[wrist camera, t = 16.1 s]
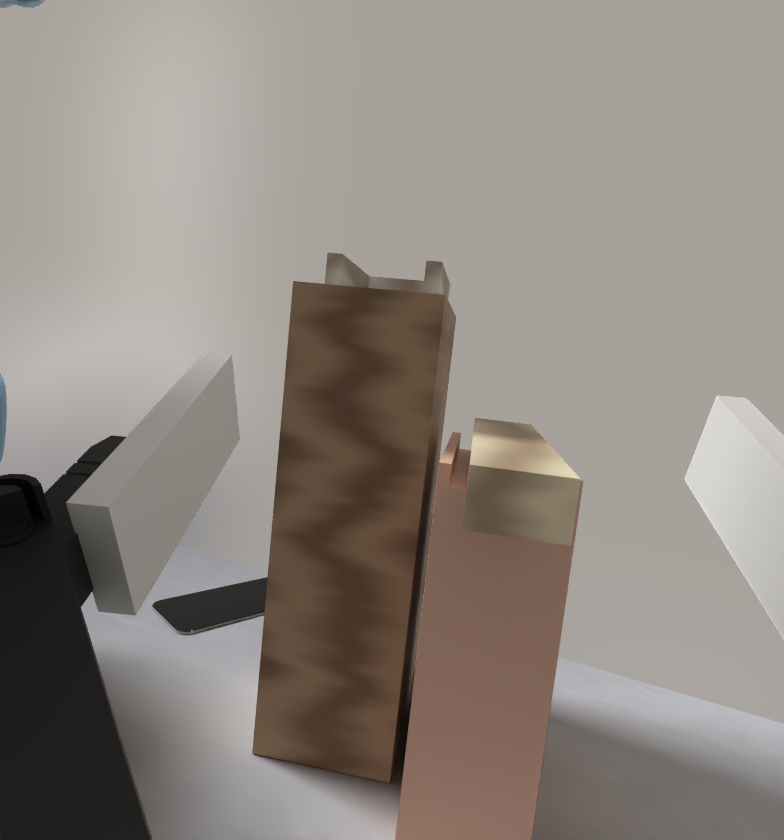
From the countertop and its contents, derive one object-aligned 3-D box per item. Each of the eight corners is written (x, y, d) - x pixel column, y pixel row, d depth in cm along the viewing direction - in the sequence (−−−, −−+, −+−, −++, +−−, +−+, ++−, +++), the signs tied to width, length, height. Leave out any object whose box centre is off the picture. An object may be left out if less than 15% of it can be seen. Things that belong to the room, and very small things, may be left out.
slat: (462, 529, 21) (469, 464, 21) (470, 451, 41) (474, 417, 41) (571, 546, 21) (580, 478, 20) (526, 458, 41) (531, 424, 41)
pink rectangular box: (394, 846, 31) (439, 462, 28) (421, 698, 44) (452, 432, 42) (525, 877, 30) (583, 481, 27) (511, 716, 43) (548, 443, 41)
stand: (252, 753, 37) (297, 237, 33) (314, 648, 50) (351, 276, 47) (389, 782, 35) (450, 249, 32) (415, 666, 49) (459, 285, 46)
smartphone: (318, 597, 60) (180, 633, 50) (317, 603, 60) (180, 640, 50) (280, 574, 65) (148, 602, 55) (280, 579, 65) (148, 608, 55)
